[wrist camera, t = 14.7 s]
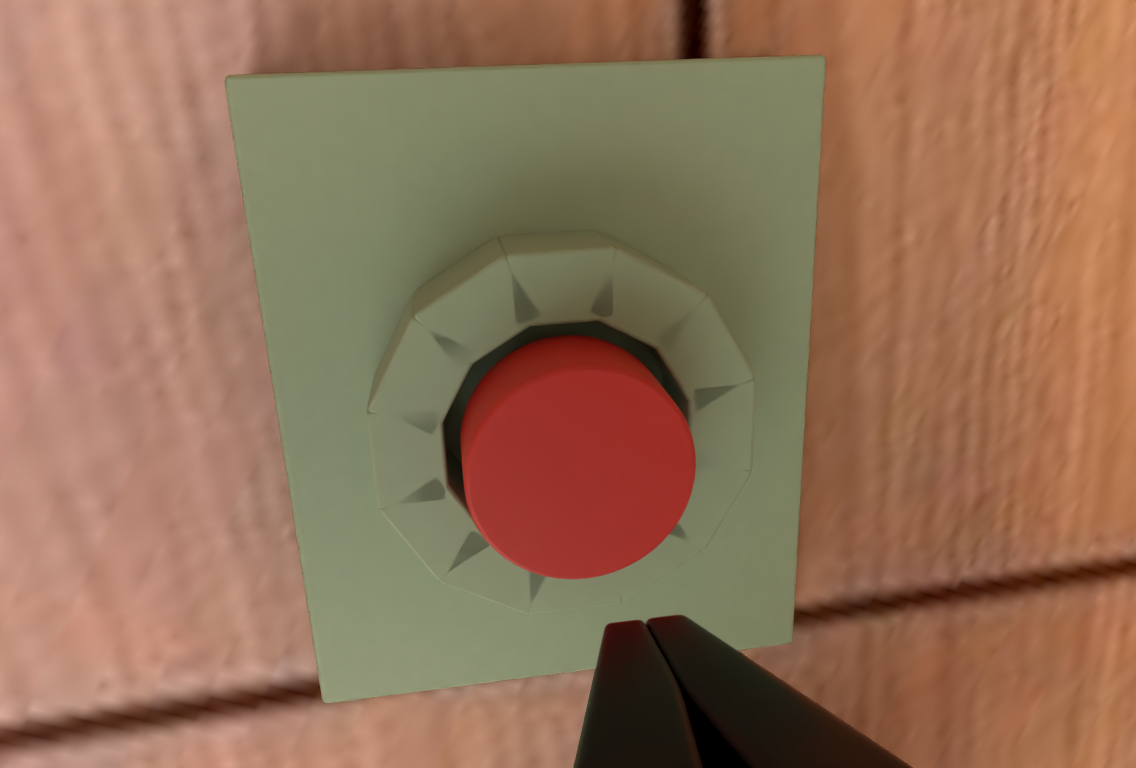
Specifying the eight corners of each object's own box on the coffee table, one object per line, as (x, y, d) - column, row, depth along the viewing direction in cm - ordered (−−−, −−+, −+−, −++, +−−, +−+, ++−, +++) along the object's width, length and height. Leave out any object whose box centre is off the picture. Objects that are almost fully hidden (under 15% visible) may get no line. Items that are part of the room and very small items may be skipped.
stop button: (668, 518, 15) (696, 568, 14) (468, 539, 15) (473, 594, 13) (667, 325, 14) (699, 355, 13) (451, 341, 14) (454, 375, 12)
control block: (764, 601, 20) (829, 699, 17) (331, 654, 19) (310, 772, 16) (789, 57, 16) (880, 48, 13) (244, 77, 15) (191, 71, 12)
